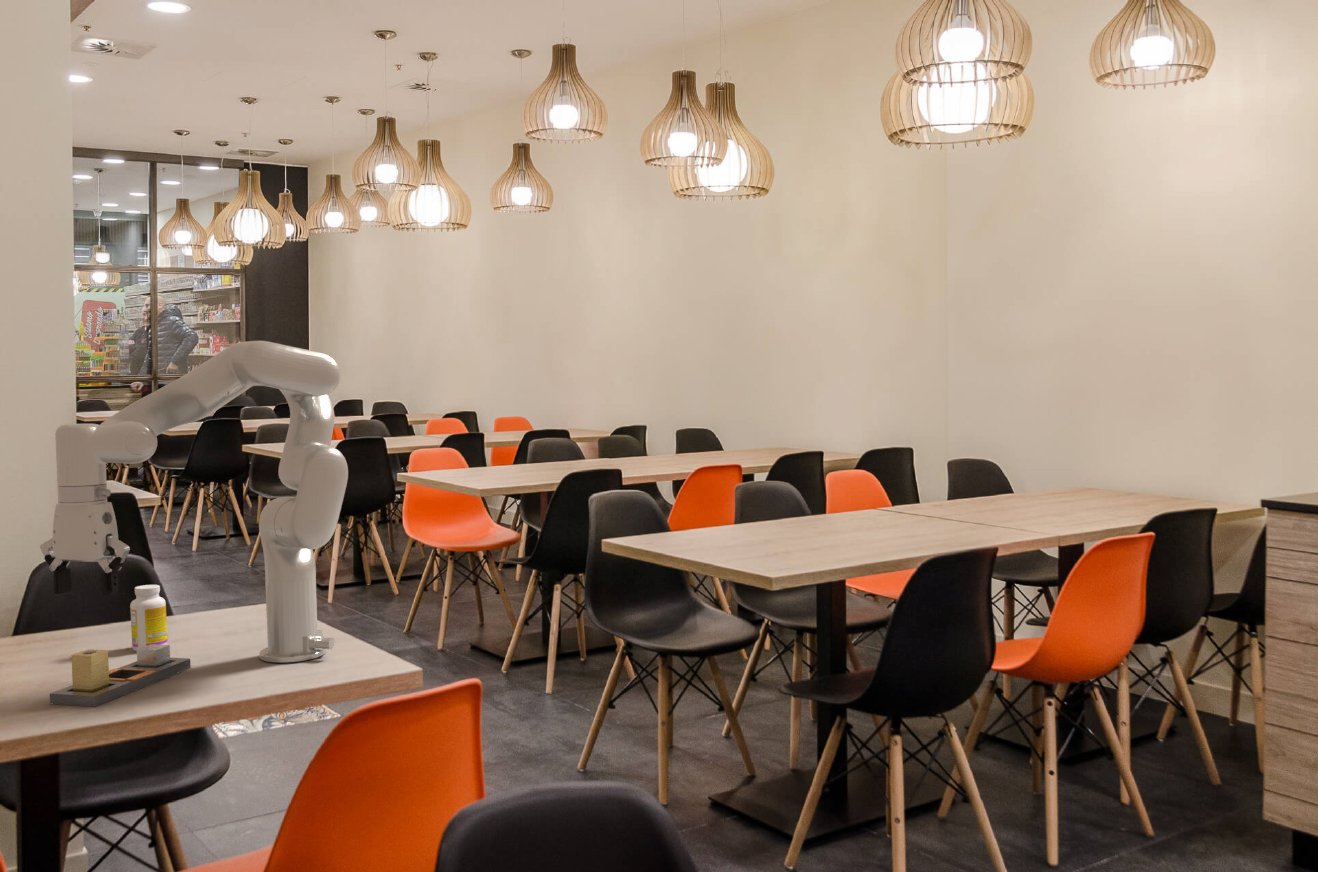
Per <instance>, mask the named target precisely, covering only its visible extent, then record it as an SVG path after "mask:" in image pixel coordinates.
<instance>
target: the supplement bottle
mask: <svg viewBox="0 0 1318 872" xmlns="http://www.w3.org/2000/svg"><path fill="white" fill-rule="evenodd" d="M160 591H161V586H160V585H159V584H145V585H144V584H143V585H137V586H135V587H134V594H135V596H136V598H135V599H133V600H132V601H131V602H130V605H129V608H130V627H131V629H130V630H131V646H132V650H133V651H135V652H137V649H139V648H142V647H145V646H148V645H151V644H157V645H169V642H168V623H167V622H168V621H167V605H166V603H167V602H166V600H165V598H163V597H161V596H160Z"/></svg>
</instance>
